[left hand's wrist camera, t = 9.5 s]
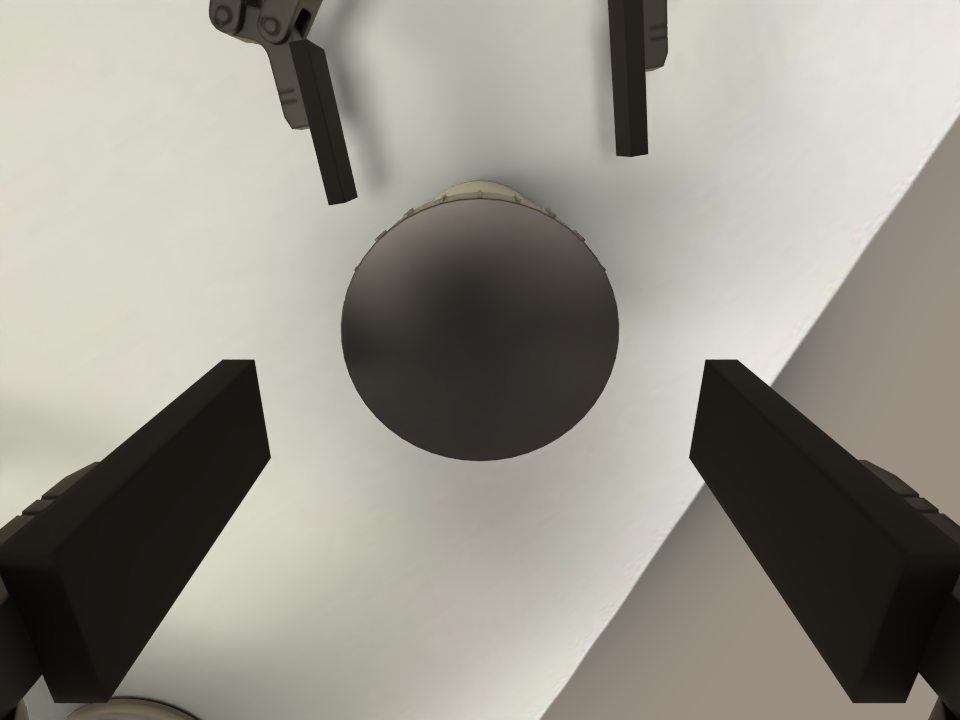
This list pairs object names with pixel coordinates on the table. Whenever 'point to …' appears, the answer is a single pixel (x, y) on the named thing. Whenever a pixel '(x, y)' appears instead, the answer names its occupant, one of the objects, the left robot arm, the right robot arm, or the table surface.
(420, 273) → the lid
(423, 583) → the table surface
